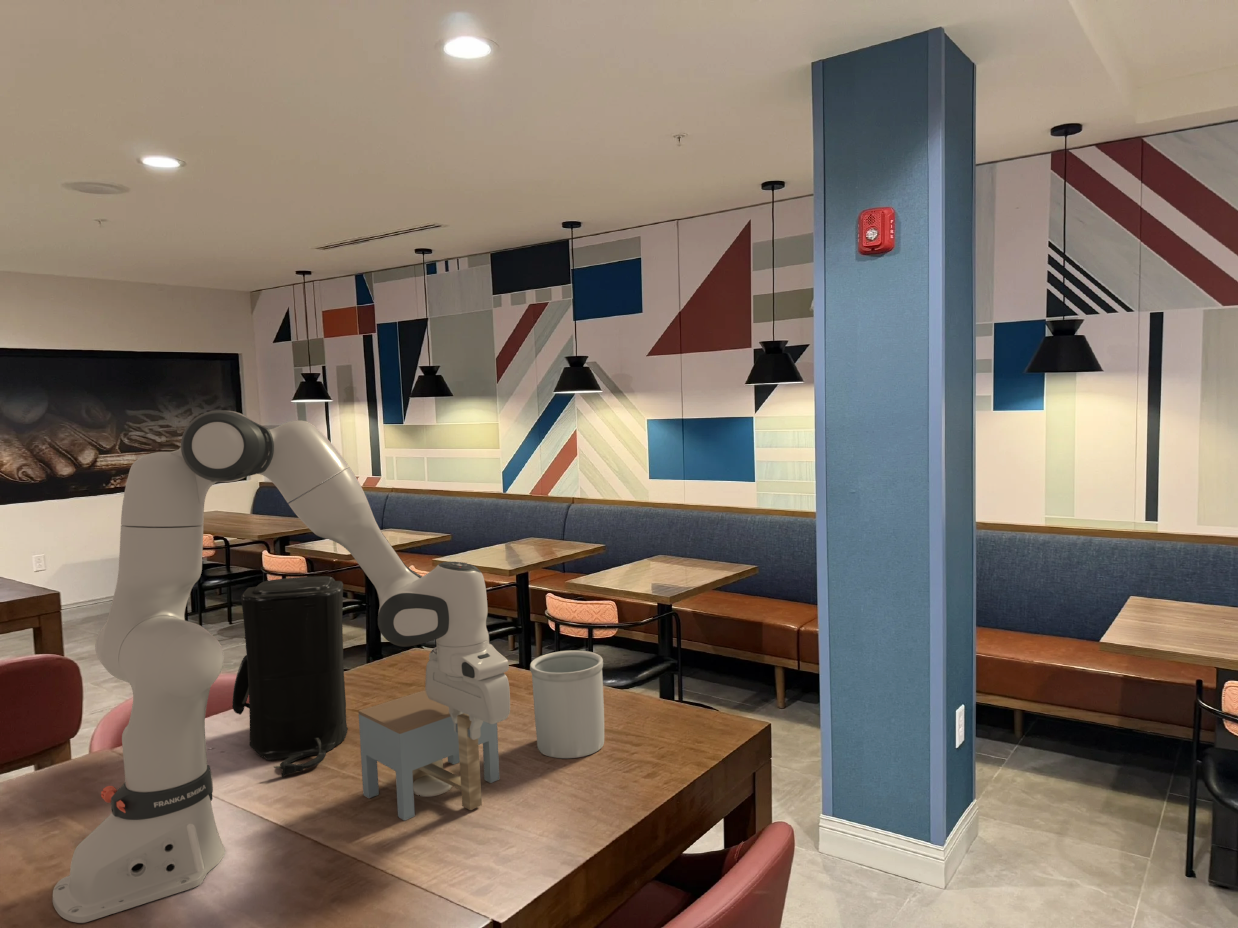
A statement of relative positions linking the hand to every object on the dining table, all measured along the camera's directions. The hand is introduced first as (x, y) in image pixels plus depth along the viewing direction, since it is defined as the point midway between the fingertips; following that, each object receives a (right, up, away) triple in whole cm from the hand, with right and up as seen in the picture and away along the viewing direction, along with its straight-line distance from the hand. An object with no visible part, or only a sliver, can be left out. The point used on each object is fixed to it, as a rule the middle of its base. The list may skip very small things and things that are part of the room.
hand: (467, 734), depth 140 cm
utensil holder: (+16, -11, +26) cm, 32 cm away
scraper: (-5, -12, +6) cm, 15 cm away
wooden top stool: (-8, -13, +9) cm, 18 cm away
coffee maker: (-44, -13, +32) cm, 56 cm away
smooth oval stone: (-8, -13, +9) cm, 18 cm away
